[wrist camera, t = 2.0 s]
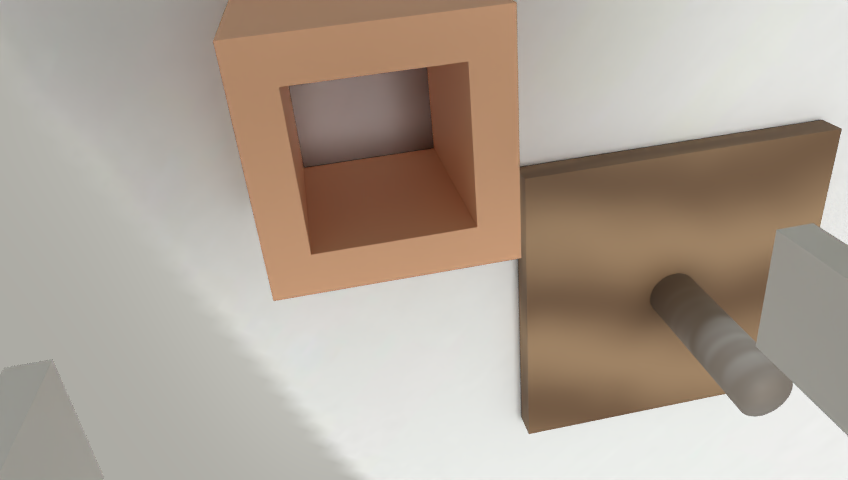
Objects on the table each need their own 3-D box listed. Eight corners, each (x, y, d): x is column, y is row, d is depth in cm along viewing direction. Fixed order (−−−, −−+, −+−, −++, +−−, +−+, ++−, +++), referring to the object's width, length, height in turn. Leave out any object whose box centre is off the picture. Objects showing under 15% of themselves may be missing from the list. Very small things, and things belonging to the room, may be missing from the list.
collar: (229, -4, 23) (212, 40, 17) (457, -31, 24) (516, 2, 18) (274, 205, 27) (273, 301, 21) (469, 174, 28) (521, 258, 22)
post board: (516, 167, 29) (594, 266, 21) (822, 119, 30) (988, 197, 23) (521, 417, 35) (582, 554, 28) (770, 367, 37) (887, 484, 30)
